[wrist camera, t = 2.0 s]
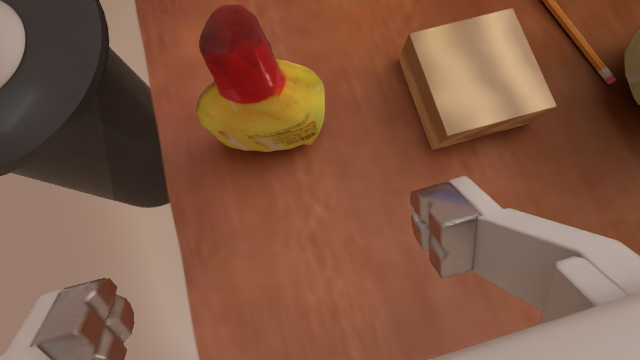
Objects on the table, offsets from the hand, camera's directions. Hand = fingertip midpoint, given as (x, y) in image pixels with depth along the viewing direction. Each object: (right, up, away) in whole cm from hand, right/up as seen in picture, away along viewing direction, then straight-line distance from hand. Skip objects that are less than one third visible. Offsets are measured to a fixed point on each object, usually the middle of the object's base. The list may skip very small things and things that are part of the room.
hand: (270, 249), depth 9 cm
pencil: (+36, +13, +32) cm, 50 cm away
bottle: (-4, +7, +31) cm, 32 cm away
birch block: (+18, +12, +32) cm, 39 cm away
